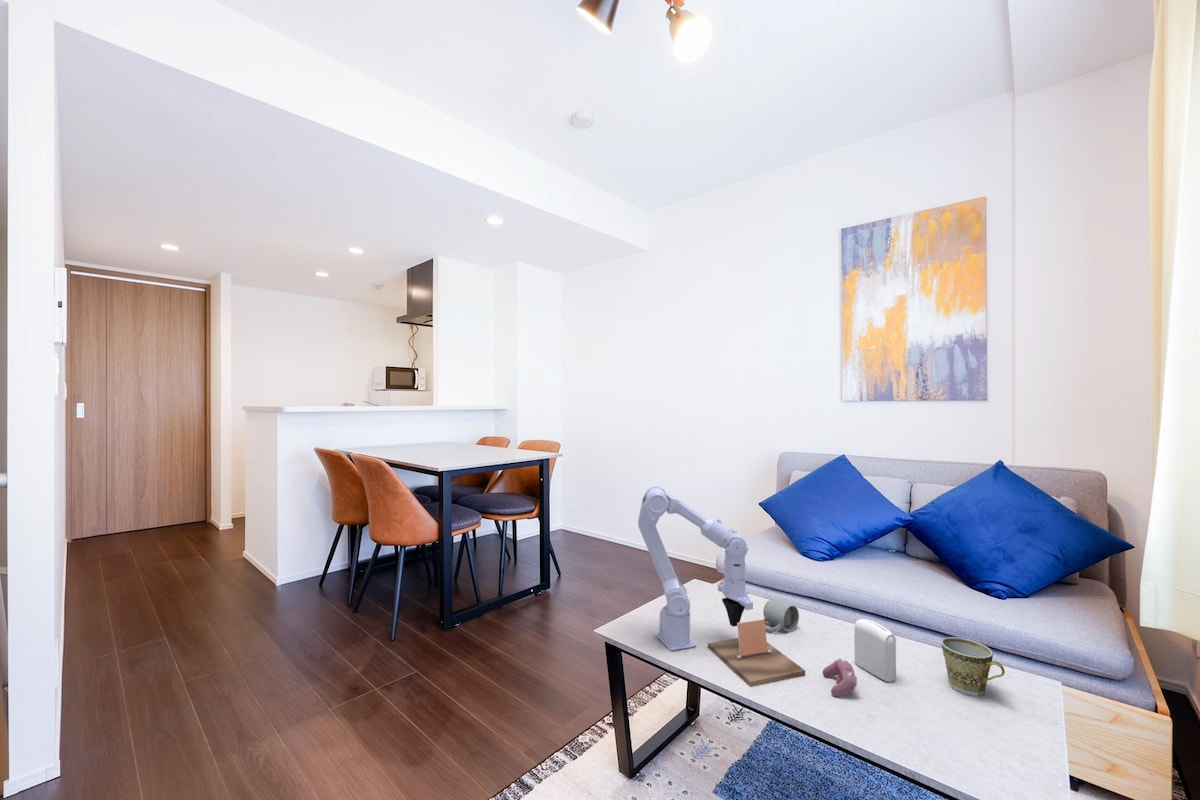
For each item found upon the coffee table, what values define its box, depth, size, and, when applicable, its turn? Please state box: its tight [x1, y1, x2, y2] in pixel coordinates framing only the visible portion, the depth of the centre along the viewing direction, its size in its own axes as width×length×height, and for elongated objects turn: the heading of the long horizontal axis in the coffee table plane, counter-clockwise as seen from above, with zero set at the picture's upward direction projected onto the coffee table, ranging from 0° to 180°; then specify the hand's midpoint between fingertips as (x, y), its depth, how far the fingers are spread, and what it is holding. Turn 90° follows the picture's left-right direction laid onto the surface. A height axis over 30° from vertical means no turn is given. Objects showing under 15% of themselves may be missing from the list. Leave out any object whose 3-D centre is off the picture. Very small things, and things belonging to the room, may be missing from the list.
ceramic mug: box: [762, 599, 800, 634], centre depth 152 cm, size 11×8×8 cm
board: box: [707, 637, 806, 687], centre depth 133 cm, size 20×16×1 cm
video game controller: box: [822, 658, 858, 698], centre depth 121 cm, size 10×5×7 cm, turn 169°
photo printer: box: [854, 618, 897, 683], centre depth 128 cm, size 10×4×12 cm, turn 20°
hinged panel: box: [736, 618, 771, 659], centre depth 134 cm, size 9×10×1 cm
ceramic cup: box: [941, 636, 1006, 697], centre depth 119 cm, size 13×10×10 cm
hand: (734, 625), depth 142 cm, fingers closed
